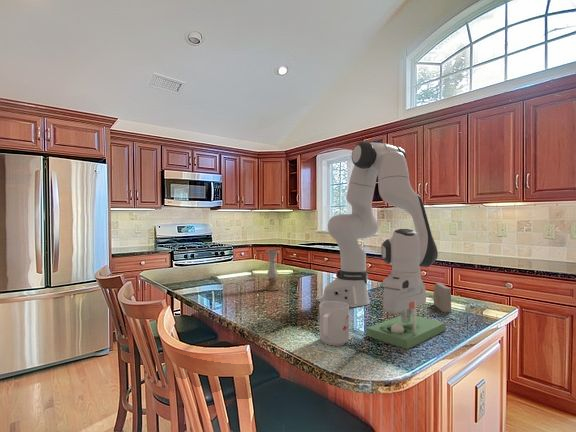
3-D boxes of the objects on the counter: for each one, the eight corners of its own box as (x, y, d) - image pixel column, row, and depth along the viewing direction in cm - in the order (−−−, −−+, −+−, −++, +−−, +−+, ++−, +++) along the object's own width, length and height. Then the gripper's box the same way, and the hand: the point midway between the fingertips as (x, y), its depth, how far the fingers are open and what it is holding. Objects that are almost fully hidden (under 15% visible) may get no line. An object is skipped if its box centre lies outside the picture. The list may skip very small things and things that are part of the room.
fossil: (452, 312, 129) (452, 288, 130) (442, 312, 130) (442, 288, 130) (441, 304, 141) (441, 282, 141) (433, 304, 142) (433, 282, 142)
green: (406, 320, 120) (406, 286, 120) (445, 330, 109) (445, 292, 109) (366, 335, 104) (366, 296, 104) (407, 349, 93) (407, 305, 93)
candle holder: (262, 291, 168) (262, 251, 169) (266, 287, 177) (266, 249, 177) (279, 291, 167) (279, 251, 167) (282, 287, 176) (282, 250, 176)
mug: (325, 334, 106) (325, 299, 106) (352, 339, 101) (352, 303, 101) (310, 347, 95) (310, 308, 95) (339, 353, 91) (339, 313, 91)
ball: (398, 340, 100) (389, 328, 102) (395, 339, 104) (387, 328, 105) (408, 332, 101) (400, 321, 102) (405, 332, 105) (397, 321, 106)
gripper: (413, 274, 116) (413, 313, 115) (379, 281, 102) (379, 326, 102) (430, 276, 111) (431, 318, 111) (397, 285, 98) (397, 331, 97)
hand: (406, 322), depth 106 cm, fingers closed
